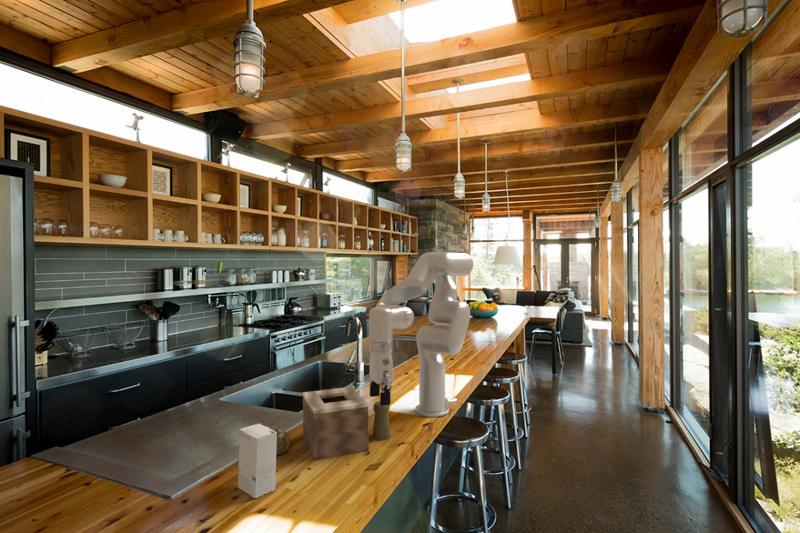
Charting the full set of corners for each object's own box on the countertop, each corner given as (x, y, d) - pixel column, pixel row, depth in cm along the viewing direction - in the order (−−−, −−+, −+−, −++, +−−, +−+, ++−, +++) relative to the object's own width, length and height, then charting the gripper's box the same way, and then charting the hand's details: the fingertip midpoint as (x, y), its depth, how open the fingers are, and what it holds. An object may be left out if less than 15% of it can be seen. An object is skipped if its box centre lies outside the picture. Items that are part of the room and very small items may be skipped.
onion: (296, 448, 131) (296, 422, 130) (280, 460, 123) (280, 432, 123) (274, 445, 133) (274, 419, 133) (258, 456, 125) (257, 429, 125)
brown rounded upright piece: (388, 441, 136) (388, 405, 135) (369, 439, 137) (369, 404, 137) (392, 433, 142) (392, 399, 141) (374, 431, 143) (374, 398, 143)
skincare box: (237, 488, 108) (236, 428, 108) (259, 479, 113) (258, 421, 112) (256, 500, 103) (255, 437, 102) (278, 490, 107) (277, 430, 107)
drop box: (351, 428, 146) (351, 386, 146) (368, 450, 129) (368, 403, 129) (303, 436, 140) (302, 392, 139) (314, 460, 123) (313, 410, 123)
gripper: (402, 350, 132) (401, 407, 132) (382, 341, 148) (381, 392, 148) (378, 352, 129) (377, 410, 129) (361, 342, 145) (360, 394, 145)
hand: (379, 400), depth 138 cm, fingers open, 9 cm apart
